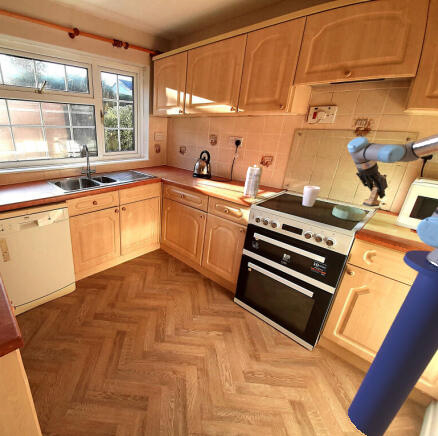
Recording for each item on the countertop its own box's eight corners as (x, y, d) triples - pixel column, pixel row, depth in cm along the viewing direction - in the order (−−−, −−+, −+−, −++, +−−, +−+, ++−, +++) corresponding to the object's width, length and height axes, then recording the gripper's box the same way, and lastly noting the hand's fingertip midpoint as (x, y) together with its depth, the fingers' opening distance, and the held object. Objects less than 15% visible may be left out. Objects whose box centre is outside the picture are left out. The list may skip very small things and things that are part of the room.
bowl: (365, 223, 140) (368, 215, 138) (332, 217, 148) (335, 210, 146) (360, 216, 152) (363, 208, 151) (330, 211, 160) (333, 203, 158)
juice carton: (257, 196, 188) (263, 165, 179) (255, 198, 182) (261, 166, 173) (245, 194, 193) (250, 163, 184) (242, 196, 187) (247, 165, 178)
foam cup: (296, 203, 173) (301, 186, 168) (305, 202, 176) (310, 185, 172) (309, 208, 165) (314, 189, 160) (318, 206, 168) (323, 188, 164)
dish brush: (370, 206, 128) (380, 178, 123) (362, 204, 132) (372, 177, 126) (378, 206, 130) (389, 178, 124) (370, 204, 133) (381, 176, 128)
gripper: (345, 167, 128) (359, 197, 137) (377, 173, 114) (390, 205, 123) (356, 157, 127) (370, 187, 136) (390, 161, 113) (402, 194, 122)
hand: (379, 196), depth 130 cm, fingers closed on dish brush, 2 cm apart
